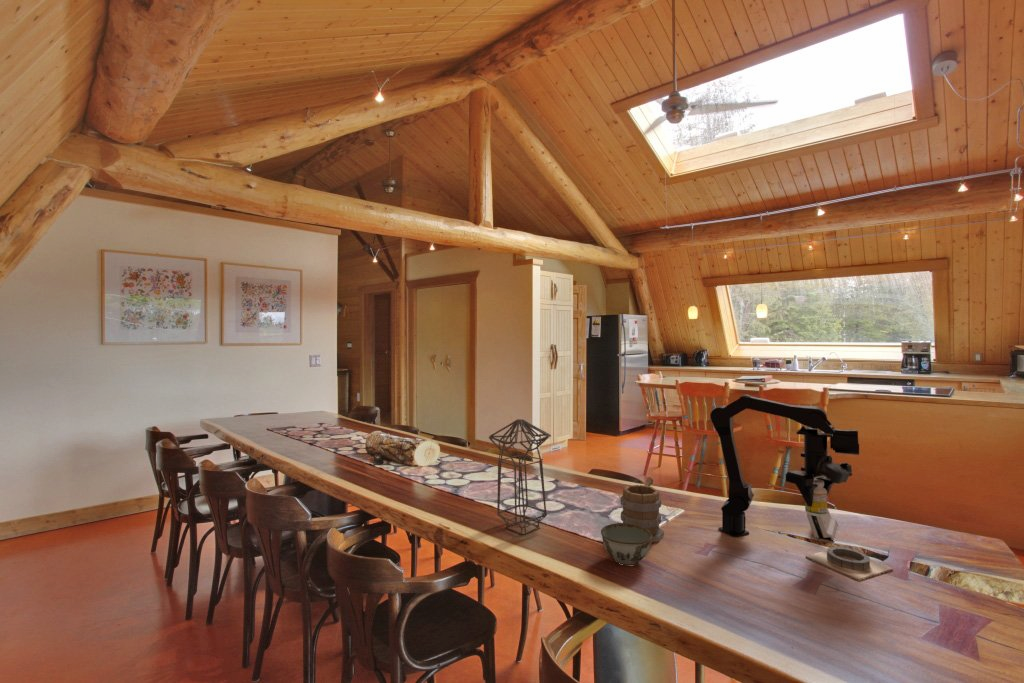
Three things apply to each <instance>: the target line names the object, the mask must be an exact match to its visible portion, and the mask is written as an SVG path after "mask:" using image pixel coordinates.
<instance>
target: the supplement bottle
mask: <svg viewBox="0 0 1024 683" xmlns="http://www.w3.org/2000/svg"><path fill="white" fill-rule="evenodd" d="M814 484H816V485H818V486H817V487H816V488H815V489H814V492H813V502H812V506H811V507H810V506H807V504H806V502H805V501H804V505H805V508H804V509H805V514H807V513H808V514H810V515H813V516H826V515H827V508H828V496H827V491H826V489H825V488H823V487H824V481H823V480H820V479H814Z"/></svg>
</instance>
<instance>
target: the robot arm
mask: <svg viewBox="0 0 1024 683" xmlns="http://www.w3.org/2000/svg"><path fill="white" fill-rule="evenodd" d="M746 409H747V410H750V411H751V410H752V411H756V412H761V413H765V414H769V415H774V416H778V417H782V418H786V419H789V420H792V421H795V422H796V423H799V424H801V425H802V426H801V427H800V428H799V429H797V430H796V434H797V435H801V436H802V435H803V452H801V453H800V457H802V458H803V461H804V462H803V463H804V464H803V465H804V466H800V471H799V470H796V469H795V470H790V471H787V472H786V473H785V474H784V476H785V477H784V478H785V482H786V483H790V484H794V485H795V486H796V487H797V489H798V491H799V492H800V494H801V496H802V498H803V500H804V503H805V502H806V504H807V506H810V507H811V506H812V502H813V492H814V489H815V488H816V487H817V486H818V485H816V484H814V479H820V480H823V481H824V487H823V488H825V489H826V491H827V497H828V495H829V493H830V490H831V488H832V486H833V485H835V484H838V485H839V484H842V483H847V481H848V480H849V477H852V476H853V473H852V472H853V470H852V465H851V464H850V463H849V462H843V463H838V462H837V463H835V462H834V461H833V456H832V455H830V454H828V438H829V440H830V441H829V442H830V443H829V444H830V445H829V449H830V450H832V451H834V453H835V454H845V455H853V456H854V455H855V456H860V441H859V432H858V430H857V429H838V428H836V427H835V426H834V424H832V423H831V422H830V421H829V419H828V414H827V412H826V411H825V409H824V408H822V407H821V406H816V405H803V404H802V405H796V404H788V403H785V402H779V401H775V400H769V399H766V398H761V397H757V396H752V395H751V394H743V395H741V396H740V397H739V398H738V399H736V400H734V401H733V402H731V403H729V404H727V405H725V404H723V405H719V406H717V407H715V408H714V409H712V410H711V412H710V416H709V417H710V420H711V424H712V426H713V428H714V430H715V431H716V433H717V435H718V437H719V442H720V446H721V450H722V454H723V459H724V464H725V467H726V472H727V473H726V474H727V478H728V498H727V499H726V500H725V501H724V503H723V505H722V506H721V508H720V509H721V512H722V513H721V514H722V516H721V518H722V520H721V522H722V523H721V524H722V526H720V527H718V530H719V531H721V532H723V533H725V534H727V535H729V536H731V537H740V536H745V535H749V534H750V531H748V530H746V520H747V519H746V511H747V510H748V509H749V507H750V505H751V504H752V502H753V499H754V497H755V494H754V493H753V490H752V483H751V482H748V483H747V482H746V481H745V479H744V476H743V471H742V467H741V462H740V457H739V454H738V449H737V445H736V441H735V437H734V429H735V428H734V425H735V424H734V423H735V422H734V420H735V418H734V416H736V415H738V414H740V413H741V412H743V411H745V410H746ZM807 427H808V428H807ZM820 431H821V432H820Z"/></svg>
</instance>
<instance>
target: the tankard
mask: <svg viewBox="0 0 1024 683" xmlns="http://www.w3.org/2000/svg"><path fill="white" fill-rule="evenodd" d="M653 482H654V479H653V478H652V477H650V476H648V477H647V478H646V480H645V483H644V485H643V484H633V485H627V486H625V487H624V488H623V489H622V495H621V497H620V505H621V506H622V511H621V512H620V520H621V521H622V523H629V524H635V525H638V526H641V527H644V528H646V529H647V530H649V531H650V532H651V534H652V538H651V542H654V543H659V542H660V541H661V539H662V538H664V536H665V532H664V530H663V529H661V527H660V524H661V523H662V515H661V514H660V509H661V507H662V499H661V498H660V491H659V490H658V489H656V488H655V487H653V486H651V485H653V484H654V483H653Z"/></svg>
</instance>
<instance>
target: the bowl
mask: <svg viewBox="0 0 1024 683" xmlns="http://www.w3.org/2000/svg"><path fill="white" fill-rule="evenodd" d="M600 535H601V538H602V542H603V546H604V549H605V551H606V552H607V554H608V555H609V556H610V557H611V558H612V559H614V561H615V560H616V561H617V562H618V563H620V564H623V565H634V566H636V565H635V564H638V563H639V562H640V561H641V560H643V559H644V558H645V557H646V556H647V555H648V553H649V551H650V549H651V544H652V543H651V538H652V534H651V532H650V531H649V530H647V529H646V528H644V527H641V526H638V525H635V524H629V523H623V522H615V523H610V524H606V525H604V526H603V527H602V528H601V530H600ZM616 561H615V562H616ZM617 562H616V563H617ZM618 563H617V564H618ZM620 564H619V565H620ZM623 565H622V566H623Z"/></svg>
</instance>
